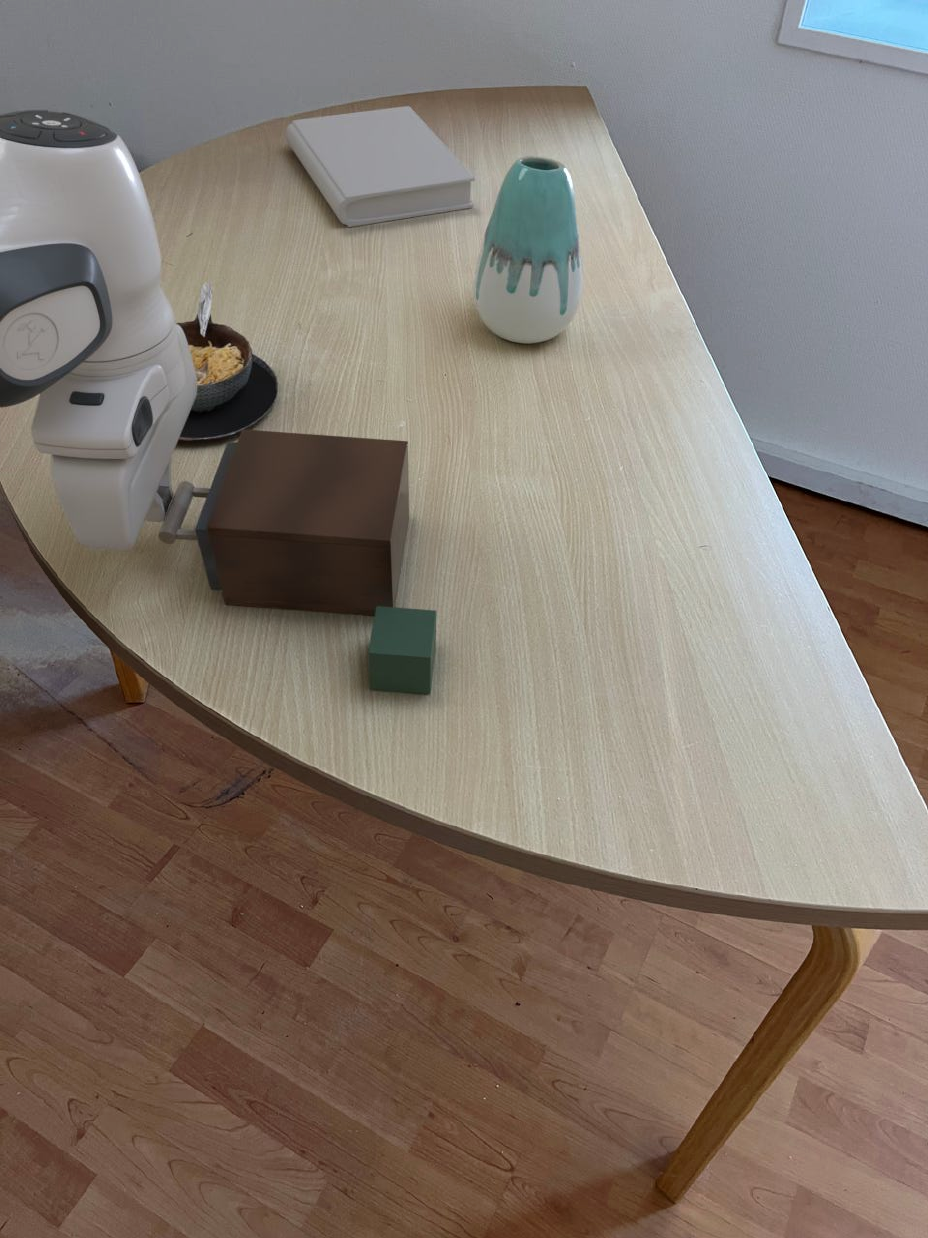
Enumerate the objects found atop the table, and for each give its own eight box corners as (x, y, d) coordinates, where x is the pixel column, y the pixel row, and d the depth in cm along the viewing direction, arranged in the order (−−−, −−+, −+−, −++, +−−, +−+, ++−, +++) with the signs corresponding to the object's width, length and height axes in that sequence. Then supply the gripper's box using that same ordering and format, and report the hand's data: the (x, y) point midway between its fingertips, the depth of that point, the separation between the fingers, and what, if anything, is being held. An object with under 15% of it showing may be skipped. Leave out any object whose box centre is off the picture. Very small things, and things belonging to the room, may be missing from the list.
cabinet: (224, 604, 74) (206, 527, 68) (256, 507, 82) (241, 428, 75) (393, 617, 74) (390, 540, 68) (409, 518, 82) (408, 440, 75)
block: (370, 690, 69) (367, 652, 66) (378, 643, 72) (376, 605, 69) (430, 694, 69) (430, 657, 66) (435, 648, 72) (436, 610, 69)
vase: (527, 288, 108) (543, 125, 94) (598, 332, 102) (625, 166, 88) (450, 320, 103) (454, 153, 89) (519, 369, 97) (535, 199, 83)
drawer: (159, 586, 74) (139, 524, 69) (193, 499, 81) (177, 437, 76) (365, 602, 74) (361, 541, 69) (382, 513, 81) (379, 452, 75)
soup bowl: (92, 420, 89) (70, 353, 83) (191, 337, 99) (177, 272, 93) (224, 465, 85) (210, 398, 80) (312, 375, 95) (305, 309, 89)
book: (409, 105, 131) (474, 177, 117) (409, 133, 134) (473, 207, 120) (283, 120, 126) (336, 198, 112) (286, 150, 129) (338, 228, 115)
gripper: (118, 283, 72) (155, 428, 82) (19, 450, 58) (79, 598, 69) (199, 288, 71) (226, 433, 82) (119, 457, 58) (164, 604, 68)
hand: (159, 509), depth 75 cm, fingers closed, pressing on drawer
